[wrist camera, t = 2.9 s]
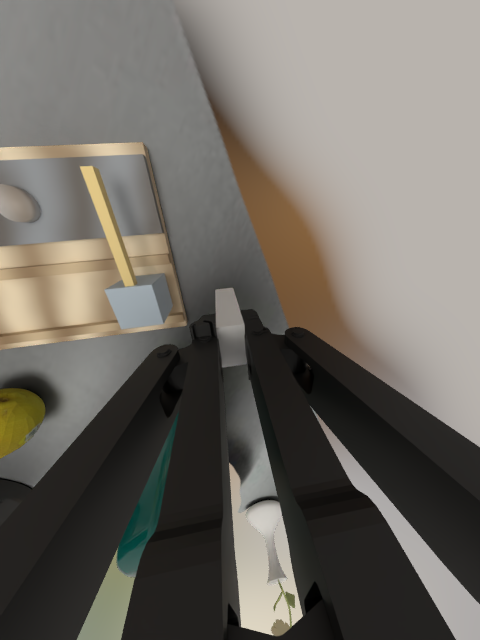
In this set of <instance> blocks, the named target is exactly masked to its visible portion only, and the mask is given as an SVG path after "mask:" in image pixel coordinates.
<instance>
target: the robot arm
mask: <svg viewBox="0 0 480 640" xmlns="http://www.w3.org/2000/svg"><path fill="white" fill-rule="evenodd" d="M215 301H216V314H212V315H203V316H202V317H201V318H200V319H199V320H198V321H196V322H194V323H192V324H191V325H190V327H189V328H190V332H191V336H192V344H191V345H189V346H188V347H185V348H182V349H179V350H178V348H177V346H175V345H171V344H169V345H163V346H160V347H158V348H156V349H154V350H153V351H152V352H151V353H150V354H149V355H148V357H147V358H146V359H145V360H144V361H143V362H142V364H141V365H140V366H139V367H138V368H137V369H136V370H135V372H134V373H133V374H132V375H131V376H130V377H129V379H128V380H127V381H126V382H125V383H124V384H123V385H122V387H121V388H120V389H119V390H118V391H117V392H116V394H115V395H114V396H113V397H112V398H111V399H110V400H109V402H108V403H107V404H106V405H105V406H104V407H103V409H102V410H101V411H100V412H99V413H98V414H97V415H96V417H95V418H94V419H93V420H92V421H91V422H90V424H89V425H88V426H87V427H86V428H85V429H84V430H83V432H82V433H81V434H80V435H79V436H78V437H77V439H76V440H75V441H74V442H73V443H72V444H71V445H70V447H69V448H68V449H67V450H66V451H65V452H64V454H63V455H62V456H61V457H60V458H59V459H58V460H57V462H56V463H55V464H54V465H53V466H52V467H51V469H50V470H49V471H48V472H47V473H46V474H45V475H44V477H43V478H42V479H41V480H40V481H39V482H38V483H37V485H36V486H35V487H34V488H33V489H30V488H28V487H27V486H24V485H22V484H19V483H16V482H12V481H7V480H1V479H0V640H77V637H78V635H79V633H80V631H81V628H82V626H83V624H84V622H85V620H86V617H87V615H88V613H89V611H90V608H91V606H92V604H93V602H94V600H95V597H96V595H97V593H98V591H99V588H100V586H101V584H102V582H103V579H104V577H105V575H106V573H107V570H108V568H109V566H110V564H111V561H112V559H113V557H114V555H115V552H116V550H117V548H118V546H119V544H120V541H121V539H122V537H123V535H124V532H125V530H126V528H127V526H128V524H129V521H130V519H131V517H132V515H133V512H134V510H135V508H136V506H137V503H138V501H139V499H140V497H141V494H142V492H143V490H144V488H145V486H146V483H147V481H148V479H149V477H150V474H151V472H152V470H153V468H154V465H155V463H156V461H157V459H158V456H159V454H160V452H161V450H162V448H163V445H164V443H165V441H166V439H167V436H168V434H169V432H170V430H171V427H172V425H173V423H174V421H175V418H176V416H177V414H178V412H179V414H178V420H177V425H176V430H175V436H174V441H173V446H172V452H171V457H170V462H169V467H168V473H167V478H166V483H165V489H164V494H163V499H162V505H161V510H160V515H159V519H158V524H157V527H156V529H155V532H154V534H153V535H152V536H151V538H150V539H149V540H148V542H147V543H146V545H145V548H144V550H143V553H142V555H141V558H140V562H139V565H138V569H137V573H136V576H135V580H134V585H133V589H132V594H131V598H130V603H129V607H128V611H127V616H126V620H125V624H124V629H123V634H122V638H121V640H456V639H455V638H454V636H453V634H452V632H451V631H450V629H449V627H448V625H447V624H446V622H445V620H444V619H443V617H442V616H441V614H440V612H439V610H438V608H437V607H436V605H435V603H434V602H433V600H432V598H431V596H430V595H429V593H428V591H427V590H426V588H425V586H424V584H423V583H422V581H421V579H420V578H419V576H418V574H417V573H416V571H415V569H414V567H413V566H412V564H411V562H410V561H409V559H408V557H407V555H406V554H405V552H404V550H403V549H402V547H401V545H400V543H399V542H398V540H397V538H396V537H395V535H394V533H393V532H392V530H391V528H390V526H389V525H388V523H387V521H386V520H385V518H384V517H383V515H382V514H381V512H380V511H379V509H378V508H377V506H376V505H375V504H374V503H373V502H372V501H371V499H370V498H369V497H368V496H367V495H365V494H363V493H362V492H360V491H358V490H357V489H356V488H355V487H354V486H353V485H352V483H351V481H350V480H349V478H348V476H347V475H346V472H345V471H344V469H343V467H342V465H341V463H340V461H339V459H338V457H337V456H336V454H335V452H334V450H333V448H332V446H331V444H330V443H329V441H328V439H327V437H326V435H325V433H324V431H323V429H322V428H321V426H320V424H319V422H318V420H317V418H316V416H315V414H314V413H313V411H312V409H311V407H312V408H313V410H314V411H315V412H316V413H317V414H318V415H319V417H320V418H321V419H322V420H323V421H324V423H325V424H326V425H327V426H328V427H329V429H330V430H331V431H332V432H333V433H334V434H335V436H337V438H338V439H339V440H340V441H341V443H342V444H343V445H344V446H345V447H346V449H348V451H349V452H350V453H351V454H352V456H353V457H354V458H355V459H356V461H358V463H359V464H360V465H361V466H362V468H363V469H364V470H365V471H366V472H367V474H368V475H369V476H370V477H371V478H372V480H373V481H374V482H375V483H376V484H377V485H378V487H379V488H380V489H381V490H382V491H383V493H384V494H385V495H386V496H387V497H388V499H389V500H390V501H391V502H392V503H393V504H394V506H395V507H396V508H397V509H398V510H399V512H400V513H401V514H402V515H403V516H404V517H405V519H406V520H407V521H408V522H409V523H410V525H411V526H412V527H413V528H414V529H415V531H417V533H418V534H419V535H420V536H421V537H422V539H423V540H424V541H425V542H426V544H427V545H428V546H429V547H430V548H431V550H432V551H433V552H434V553H435V554H436V555H437V557H438V558H439V559H440V560H441V561H442V563H443V564H444V565H445V566H446V567H447V568H448V569H449V571H450V572H451V573H452V574H453V575H454V576H455V577H456V578H457V579H458V581H459V582H460V583H461V584H462V585H463V586H464V587H465V589H466V590H467V591H468V592H469V593H470V594H471V595H472V596H473V597H474V599H475V600H476V601H477V602H478V603H479V604H480V447H478V446H477V445H475V444H474V443H472V442H471V441H469V440H468V439H467V438H465V437H464V436H462V435H461V434H459V433H458V432H456V431H455V430H454V429H452V428H451V427H449V426H448V425H446V424H445V423H443V422H442V421H440V420H439V419H437V418H436V417H434V416H433V415H432V414H430V413H429V412H427V411H426V410H424V409H423V408H421V407H420V406H418V405H417V404H415V403H414V402H412V401H411V400H409V399H408V398H407V397H405V396H404V395H402V394H401V393H399V392H398V391H396V390H395V389H393V388H392V387H390V386H389V385H387V384H386V383H385V382H383V381H382V380H380V379H379V378H377V377H376V376H374V375H373V374H371V373H370V372H368V371H367V370H365V369H364V368H363V367H361V366H360V365H358V364H357V363H355V362H354V361H352V360H351V359H349V358H348V357H346V356H345V355H343V354H342V353H341V352H339V351H338V350H336V349H335V348H333V347H332V346H330V345H329V344H327V343H326V342H324V341H323V340H321V339H320V338H318V337H317V336H316V335H314V334H313V333H311V332H310V331H308V330H306V329H304V328H300V327H294V328H289V329H287V330H286V331H285V335H276V334H272V333H271V332H270V330H269V329H268V328H266V327H264V326H263V324H262V322H261V320H260V319H259V316H258V314H257V312H256V311H254V310H252V309H249V310H241V311H240V309H239V305H238V302H237V299H236V296H235V293H234V290H233V288H225V289H216V290H215ZM247 362H248V375H249V380H251V384H252V389H253V393H254V397H255V401H256V406H257V410H258V414H259V418H260V423H261V427H262V431H263V435H264V440H265V444H266V448H267V452H268V457H269V461H270V465H271V469H272V474H273V478H274V482H275V486H276V491H277V495H278V499H279V504H280V508H281V512H282V516H283V521H284V525H285V529H286V534H287V538H288V543H289V550H290V557H291V563H292V569H293V573H294V578H295V583H296V587H297V592H298V596H299V601H300V605H301V609H302V614H303V617H302V618H301V619H300V620H299V621H298V622H297V623H295V625H293V626H292V627H291V628H290V629H289V630H288V631H287V632H285V633H284V634H283V635H280V636H272V635H269V634H265V633H261V632H257V631H253V630H249V629H246V628H242V627H241V620H240V605H239V591H238V580H237V569H236V560H235V550H234V537H233V536H234V535H233V520H232V505H231V490H230V473H229V458H228V442H227V427H226V411H225V396H224V380H223V370H222V368H223V367H230V366H237V365H244V364H247ZM308 365H309V366H310V367H309V366H308ZM310 406H311V407H310Z"/></svg>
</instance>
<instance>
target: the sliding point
mask: <svg viewBox="0 0 480 640" xmlns="http://www.w3.org/2000/svg"><path fill="white" fill-rule="evenodd" d="M80 169H81V171H82V174H83V177H84V179H85V182H86V185H87V187H88V190H89V193H90V195H91V198H92V200H93V203H94V206H95V208H96V211H97V214H98V216H99V219H100V222H101V224H102V227H103V230H104V232H105V235H106V238H107V240H108V243H109V246H110V248H111V251H112V254H113V256H114V259H115V262H116V264H117V267H118V270H119V272H120V275H121V278H122V280H121V281H119V282H117V283H115V284H114V285H112V286H110V287H108V288H106V289H105V293H106V295H107V297H108V299H109V302H110V304H111V306H112V309H113V311H114V313H115V316H116V318H117V320H118V323H119V325H120V327H121V329H128V328H136V327H144V326H152V325H160V324H164V323H165V321H166V319H167V317H168V315H169V313H170V311H171V309H172V307H173V304H172V300H171V296H170V293H169V289H168V285H167V281H166V277H165V274H164V273H160V274H150V275H140V276H135V274H134V271H133V268H132V266H131V263H130V260H129V257H128V254H127V251H126V248H125V245H124V242H123V239H122V236H121V233H120V230H119V227H118V224H117V221H116V219H115V216H114V213H113V210H112V207H111V204H110V201H109V198H108V195H107V192H106V189H105V186H104V183H103V180H102V177H101V175H100V172H99V169H97V168H95V167H93V166H80Z"/></svg>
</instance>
